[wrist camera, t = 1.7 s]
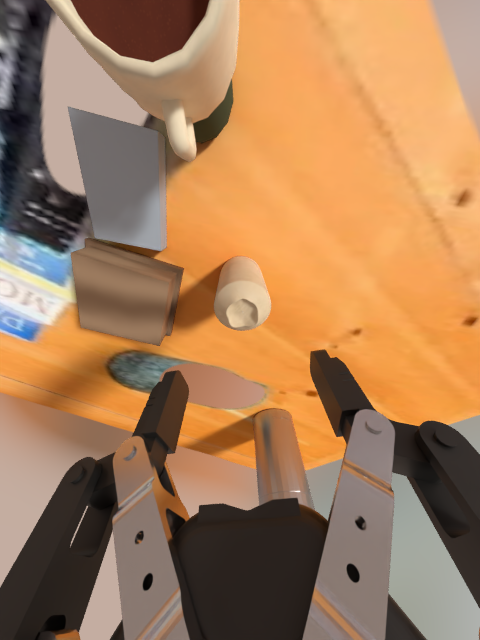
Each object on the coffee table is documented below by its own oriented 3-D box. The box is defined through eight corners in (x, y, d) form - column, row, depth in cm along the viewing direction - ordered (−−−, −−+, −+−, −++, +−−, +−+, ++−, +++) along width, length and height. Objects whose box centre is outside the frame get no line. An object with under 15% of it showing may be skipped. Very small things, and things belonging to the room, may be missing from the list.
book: (166, 247, 23) (161, 251, 21) (105, 235, 22) (95, 238, 20) (165, 137, 17) (157, 130, 16) (84, 115, 17) (67, 106, 15)
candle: (269, 274, 25) (286, 312, 17) (242, 301, 27) (245, 348, 19) (238, 245, 23) (240, 273, 15) (212, 278, 25) (199, 318, 17)
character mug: (131, -15, 13) (-356, -999, 2) (232, -26, 13) (209, -1150, 2) (173, 178, 19) (90, 154, 8) (242, 172, 19) (249, 139, 8)
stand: (171, 333, 30) (163, 350, 27) (95, 313, 28) (76, 329, 25) (183, 268, 24) (175, 279, 21) (89, 237, 22) (63, 244, 19)
